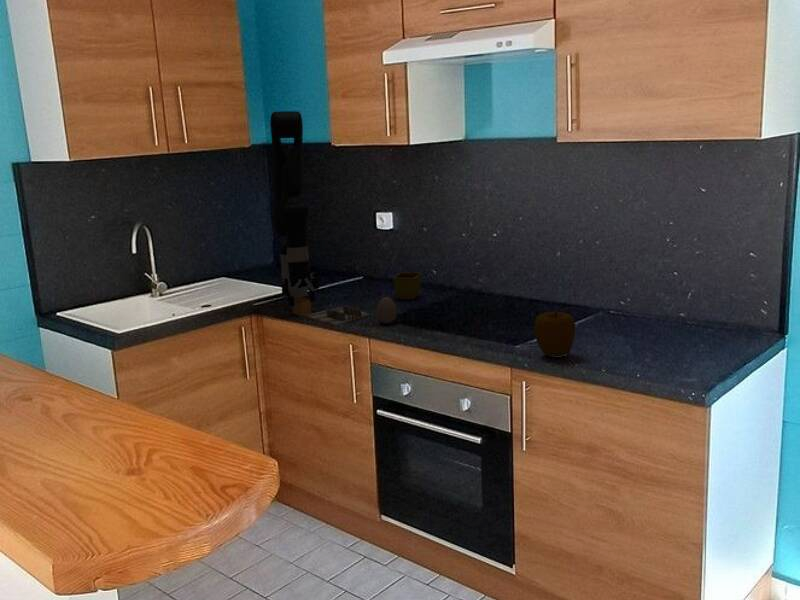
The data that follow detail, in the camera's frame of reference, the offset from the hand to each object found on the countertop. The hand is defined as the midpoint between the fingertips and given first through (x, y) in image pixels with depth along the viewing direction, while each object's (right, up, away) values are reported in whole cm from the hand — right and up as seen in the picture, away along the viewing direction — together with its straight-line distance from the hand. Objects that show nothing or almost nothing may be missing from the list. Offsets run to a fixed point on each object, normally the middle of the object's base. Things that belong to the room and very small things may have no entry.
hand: (302, 304), depth 287 cm
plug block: (0, -4, +1) cm, 4 cm away
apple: (+78, -14, -62) cm, 101 cm away
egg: (+31, -7, -18) cm, 36 cm away
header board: (+13, -4, -6) cm, 15 cm away
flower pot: (+38, +2, +15) cm, 41 cm away
